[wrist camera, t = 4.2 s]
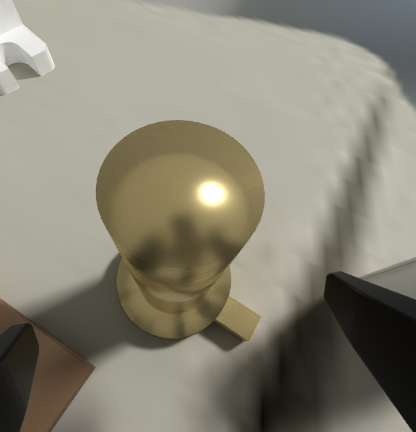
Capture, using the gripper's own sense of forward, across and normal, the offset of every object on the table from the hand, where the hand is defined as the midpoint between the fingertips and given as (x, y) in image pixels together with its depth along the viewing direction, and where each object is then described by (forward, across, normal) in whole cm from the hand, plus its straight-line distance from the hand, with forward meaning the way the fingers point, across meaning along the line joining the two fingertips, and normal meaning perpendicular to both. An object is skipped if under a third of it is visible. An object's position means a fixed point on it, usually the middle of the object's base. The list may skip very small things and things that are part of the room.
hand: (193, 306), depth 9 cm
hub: (+8, -1, +6) cm, 10 cm away
